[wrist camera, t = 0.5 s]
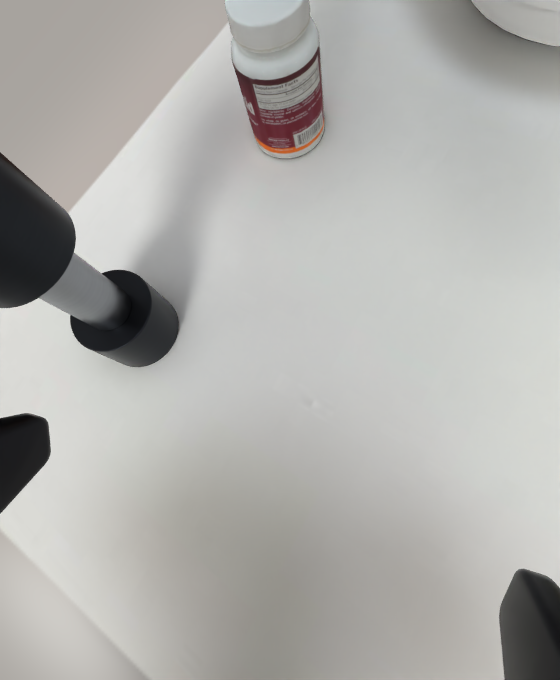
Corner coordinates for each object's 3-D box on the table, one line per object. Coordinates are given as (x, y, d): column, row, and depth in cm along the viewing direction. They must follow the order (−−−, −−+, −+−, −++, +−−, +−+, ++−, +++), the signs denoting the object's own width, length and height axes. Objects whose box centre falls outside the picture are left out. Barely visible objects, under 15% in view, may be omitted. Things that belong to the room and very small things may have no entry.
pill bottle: (255, 109, 28) (217, -32, 20) (323, 99, 27) (313, -52, 19) (254, 165, 26) (214, 38, 18) (326, 156, 26) (317, 19, 18)
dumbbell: (181, 359, 23) (-8, 243, 11) (107, 373, 24) (-152, 278, 11) (176, 288, 24) (3, 114, 12) (107, 303, 25) (-125, 150, 13)
